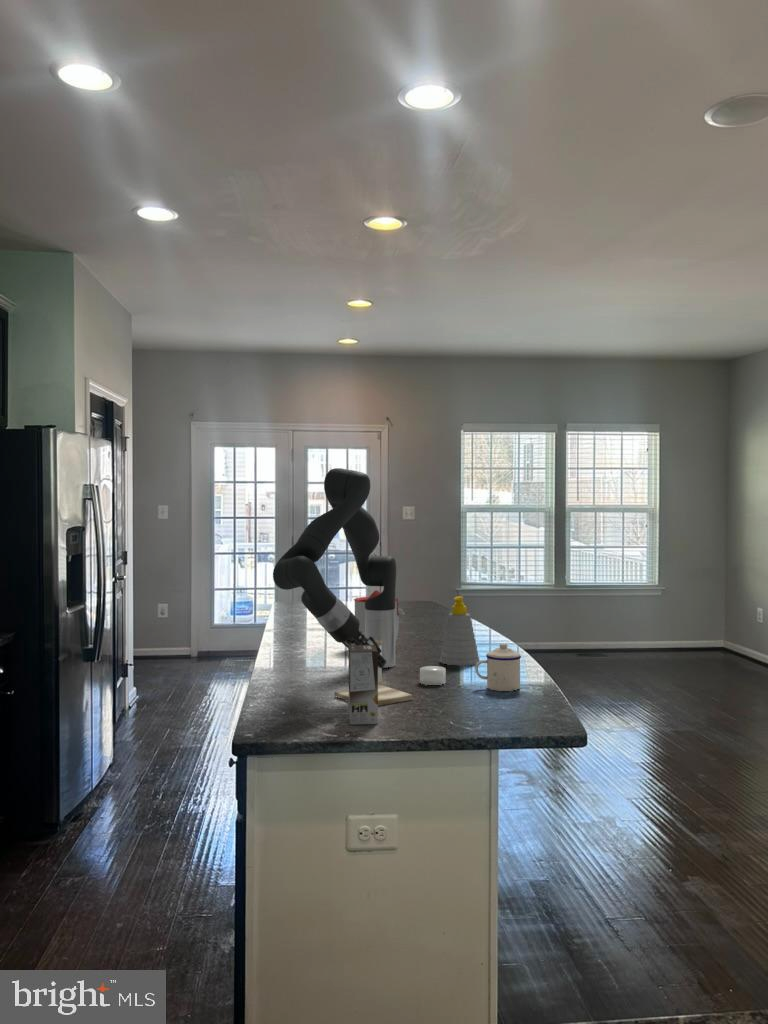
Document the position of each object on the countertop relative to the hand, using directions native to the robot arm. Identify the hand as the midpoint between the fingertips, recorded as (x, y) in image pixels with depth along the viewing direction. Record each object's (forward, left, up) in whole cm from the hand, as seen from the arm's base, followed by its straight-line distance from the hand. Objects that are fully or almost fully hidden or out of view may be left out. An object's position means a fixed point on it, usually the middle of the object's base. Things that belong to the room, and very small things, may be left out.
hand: (377, 663), depth 194 cm
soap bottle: (-23, +47, -9) cm, 53 cm away
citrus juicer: (-58, +41, -9) cm, 71 cm away
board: (0, -1, -9) cm, 9 cm away
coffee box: (+15, -14, -9) cm, 22 cm away
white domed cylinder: (-5, +22, -9) cm, 24 cm away
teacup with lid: (+10, +32, -9) cm, 34 cm away
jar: (0, -2, -4) cm, 5 cm away
